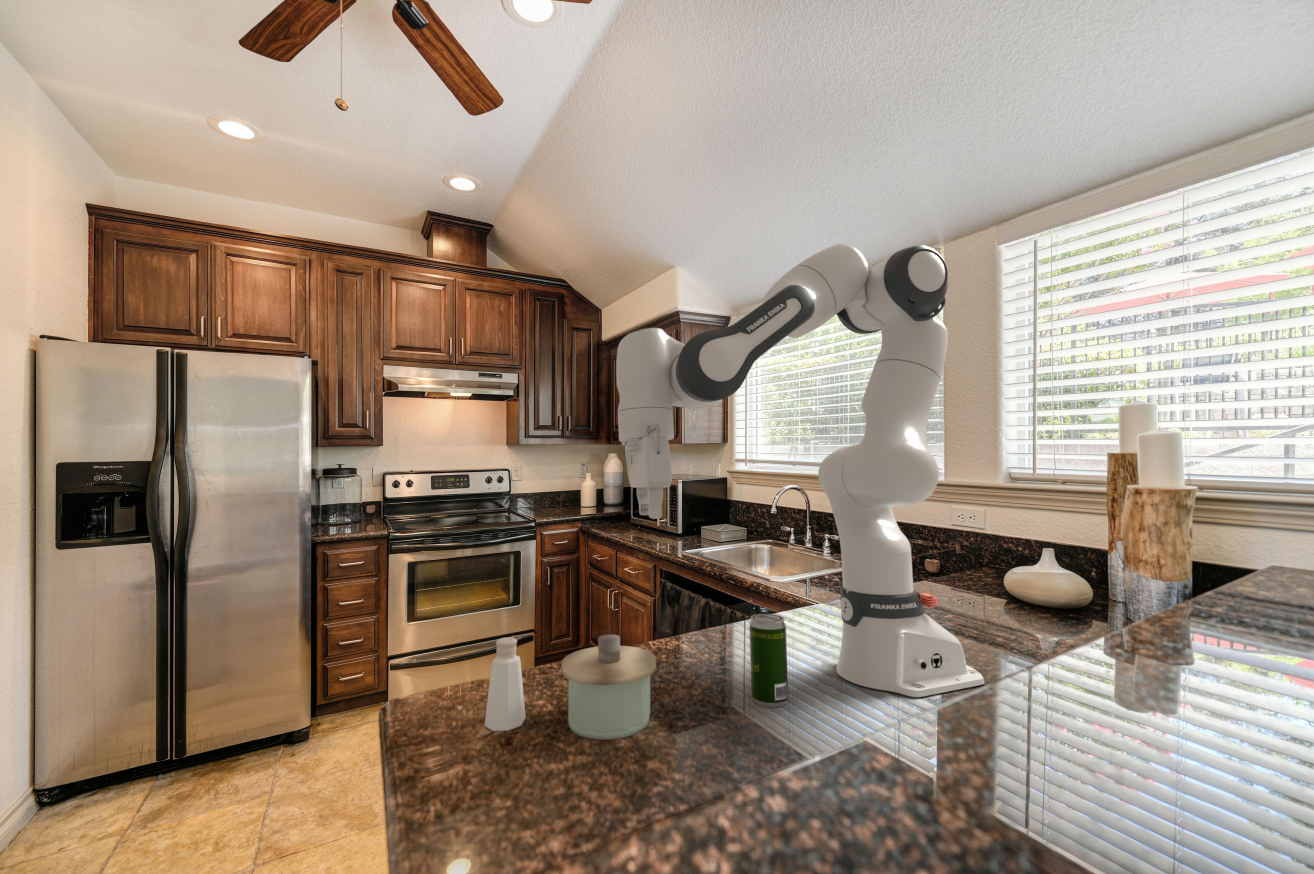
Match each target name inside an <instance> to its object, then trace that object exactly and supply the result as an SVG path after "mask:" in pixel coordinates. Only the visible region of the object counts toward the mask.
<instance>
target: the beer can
mask: <svg viewBox="0 0 1314 874" xmlns="http://www.w3.org/2000/svg"><path fill="white" fill-rule="evenodd" d="M787 644H788V643H787V625H786V623H785V617H784V616H781V615H779V614H773V613H772V614H771V613H757V614H753V615H751V616H750V622H749V650H750V651H749V655H750V656H749V657H750V689H751V690H750V691H751V697H752V700H753V702H754V704H756V705H758V706H761V707H765V708H781V707H784V706H785V705H786V704H787V702H788V699H789V686H788V685H789V683H788V682H789V679H788V675H789V674H788V650H787Z"/></svg>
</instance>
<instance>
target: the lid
mask: <svg viewBox="0 0 1314 874" xmlns="http://www.w3.org/2000/svg"><path fill="white" fill-rule="evenodd" d="M597 641H598V644H597V646H593V647H588V648H586V647H585V648H583V649H580V650H576V651H573V652H571V653H570V654H567V655H566V656H565V657H564V658H563V659H562V660H561V674H562V676H564V677H565V678H566V679H568V680H569V679H570V680H572V681H575V682H578V683H583V684H590V685H616V684H624V683H630V682H634V681H638V680H640V679H643V678H645V677H647V676H649V675H650V676H651V675H652V674H653V673H654V672H655V671H656V669H657V657H656V656H655V654H654V653H652V652H651V651H650V650H646V649H644V648H641V647H636V646H629V645H621V636H620V635H618V634H603V635H600V636H598V639H597Z"/></svg>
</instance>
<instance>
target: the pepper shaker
mask: <svg viewBox="0 0 1314 874" xmlns="http://www.w3.org/2000/svg"><path fill="white" fill-rule="evenodd" d="M517 644H518V639H517V638H515V637H512V636H511V637H509V636H508V637H501V638H499V639H497V640H496V642H495V645H496V649H495V650H496V656H495V658H494V659H492V662H491V669H490V675H489V684H488V685H489V686H488V693H487V694H488V695H487V701H486V710H485V717H484V718H485V719H484V726H485V727H486V728H488V729H489V730H491V731H492V732H505V731H507V732H508V731H511V730H514V729H516V728H519V727H522V725H523V723H524V722H525V720H526V709H525V708H526V706H525V697H524V685H523V684H524V683H523V672H522V663H521V657H520V656H519V655H517Z"/></svg>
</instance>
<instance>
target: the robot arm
mask: <svg viewBox="0 0 1314 874" xmlns="http://www.w3.org/2000/svg"><path fill="white" fill-rule="evenodd" d="M864 256H865V255H864V254H863V253H862V252H861V251H860V250H859V249H857V248H856V247H854V246H852V245H850V244H846V243H841V244H834V245H832V246H829V247H827V248H825V249H822V250H820V251H818V252H817V253H814V254H813V255H811V256H809V257H807V258H805V259H804V260H803V261H801V262H799V263H798V264H797V265H795V266H793V267H792V268H791V269H790V270H788V271H787V272H785V273H784V274H783V275H782V276H780V278H779V279H777V280H776V282H775V283H774V284H772V286H771V287H770V288H769V289H768V291H766V293H765V295H764V300H763V302H762V304H760V305H759V306H757V307H756V308H754V309H753V310H752V311H750V312H749V313H747V314H746V315H745V316H744V317H742V318H741V319H739V320H738V321H736V322H735V323H732V324H731V325H730V326H727V327H722V328H718V329H717V328H716V329H712V330H707V331H706V330H705V331H702V332H700V333H698V334H696V335H694V336H692V337H691V338H690V339H689V340H688V341H686V343H685V344H684V343H683V342H680V341H679V340H677V339H675V338H674V337H672V336H670V335H669V334H667V333H666V332H665V330H664V329H662V328H661V327H660V328H659V327H643V328H639V329H636V330H634V331H632V332H629V333H627V334H626V335H625V336H623V338H622V339H621V340H620V342H619V344H618V346H617V353H616V363H615V364H616V368H615V369H616V370H615V371H616V372H615V373H616V387H617V391H618V394H619V403H618V408H617V423H618V425H617V426H618V441H619V442H620V443H621V445H622V446H624V453H625V455H624V456H625V463H626V470H627V476H628V481H629V485H630V487H631V488H636V497H637V502H638V511H639V515H640V516H648V517H649V518H650V519H652V520H655V519H657V520H658V519H661V518H662V516H663V509H662V508H663V507H662V506H663V500H664V488H668V487H671V485H672V479H673V476H672V461H671V453H670V452H671V450H670V442H669V441H671V440H674V438H675V434H674V433H675V429H674V426H675V425H674V412H673V411H674V408H673V407H677V408H681V409H689V410H700V409H704V408H707V407H709V406H711V405H713V404H715V403H717V402H718V401H720V400H724V399H727V398H729V397H731V396H733V395H734V394H735V393H736V392H737V391H738V390H739V389H740V388H741V386H742V385H743V384H744V382H745V380H746V378H747V376H748V374H749V372H750V370H751V368H752V366H753V365H754V363H755V362H756V361H757V360H758V359H759V358H761V357H762V356H764V354H766V353H767V352H768V351H769V350H771V349H772V348H773V347H775V346H776V345H777V344H778V343H780V342H782V341H783V339H785V338H786V337H789V338H795V339H798V338H801V337H804V336H805V335H808V334H809V333H811V332H814V331H815V330H816V329H819V328H820V327H822V326H823V325H825V324H826V323H827V322H828V321H830V320H831V319H832V318H833V317H835V316H837V317H838V319H839V321H840V323H841V324H842V325H843V326H844V327H845V328H846V329H847V330H849V331H850V332H852V333H855V334H859V335H868V334H873V333H874V334H875V333H878V332H880V333H881V345H880V351H879V353H878V355H877V358H876V361H875V363H874V365H873V368H872V370H871V374H870V376H869V380H868V383H867V385H866V389H865V392H864V393H863V394H864V395H863V396H862V401H861V404H860V406H861V410H862V413H863V414H864V416H865V430H864V436H863V437H862V440H861V441H860V443H859V444H854V445H846V446H842V447H840V448H838V449H836V450H835V451H833V452H832V453H830V454H828V455H827V456H826V457H825V458H824V459H823V460H822V461H821V463H820V465H819V468H818V474H817V477H818V478H817V479H818V484H819V485H820V488H821V489H822V490H823V492H824V493H825V495H826V497H827V498H828V501H829V504H830V507H831V510H832V514H833V517H834V522H835V525H836V529H837V532H838V533H837V534H838V537H839V545H840V554H841V555H840V556H841V559H840V560H841V575H842V585H841V586H840V592H839V593H840V614H841V620H842V633H841V644H840V652H839V657H838V661H837V665H836V668H835V671H836V673H837V675H838V676H840V677H841V678H842V679H844V680H846V681H849V682H850V683H852V684H856V685H859V686H862V687H865V688H869V689H874V690H880V691H886V692H891V693H892V692H893V693H897V694H900V695H903V696H907V697H913V698H921V697H927V696H931V695H937V694H943V693H947V692H952V691H957V690H961V689H967V688H973V687H977V686H981V685H984V684H985V679H984V677H983V675H982V674H981V672H979V671H978V670H976V669H975V668H973V667H971V666H970V665H968V664H967V660H966V656H965V651H964V649H963V646H962V644H961V642H960V640H959V639H958V638H957V637H956V636H955V635H954V634H952V633H951V632H950V631H949V630H947V629H946V628H944V627H943V626H942V625H941V624H939V623H938V622H936V621H935V620H934V619H932V618H931V617H930V616H929V615H928V614H926V613H925V612H926V611H925V609H924V606H927V607H928V608H933V609H934V608H935V607H937V605H938V598H937V597H936V596H935V595H933V594H930V593H928V592H927V593H925V592H924V593H922V594H921V593H920V592H918V591H917V590H915V589H914V579H913V563H912V562H913V560H912V559H913V558H912V546H911V543H910V541H909V539H908V538H907V536H906V535H905V534H904V533H903V532H902V531H901V529H900V527H899V524H898V523H897V520H896V517H895V514H894V512H893V509H896V508H897V509H898V508H903V507H908V506H912V505H915V504H918V503H922V502H923V501H925V500H927V499H928V498H930V497H931V495H932V494H933V493H934V492H935V490H936V488H937V485H938V483H939V477H940V476H939V466H938V463H937V461H936V459H935V457H934V455H933V454H932V452H931V451H930V450H929V447H928V438H927V435H928V434H927V431H928V421H929V418H930V413H931V410H932V407H933V403H934V401H935V398H936V397H935V396H936V394H937V391H938V388H939V384H940V382H941V377H942V374H943V372H944V367H945V364H946V358H947V352H948V343H949V333H948V329H947V327H946V325H945V324H944V322H942V321H941V320H940V319H939V318H936V316H938V315H939V314H940V313H941V311H942V310H943V308H944V307H945V304H946V293H947V291H948V286H949V272H948V267H947V264H946V261H945V260H944V258H943V257H942V255H941V254H940V253H939V252H938V251H937V250H936V249H935V248H932V247H930V246H927V245H912V246H909V247H906V248H902V249H900V250H898V251H896V252H894V253H893V254H892V255H890V256H889V257H888V258H886V259H883V260H882V261H880V262H878V263H877V264H875V265H873V264H870V263H868V262H867V260H866V258H865V257H864Z"/></svg>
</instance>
